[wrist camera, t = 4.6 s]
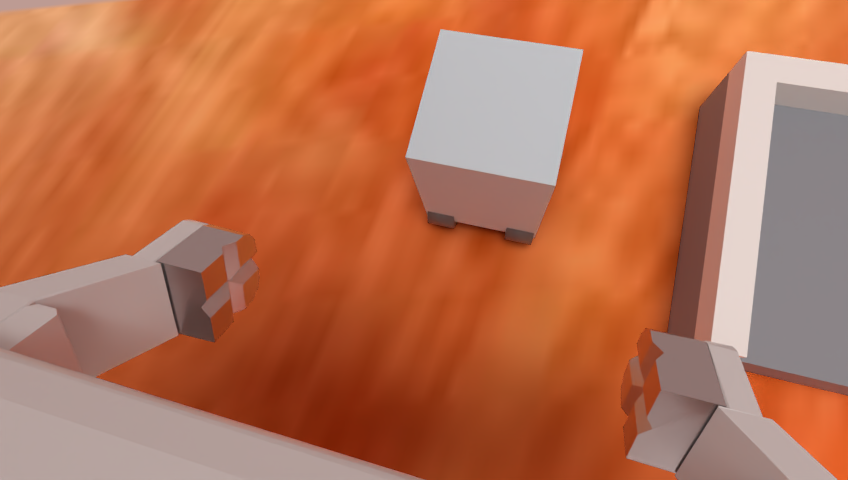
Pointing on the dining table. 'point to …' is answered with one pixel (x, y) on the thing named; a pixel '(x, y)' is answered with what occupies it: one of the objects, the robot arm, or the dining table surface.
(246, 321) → the dining table surface
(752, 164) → the dock
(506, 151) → the white footed cube
